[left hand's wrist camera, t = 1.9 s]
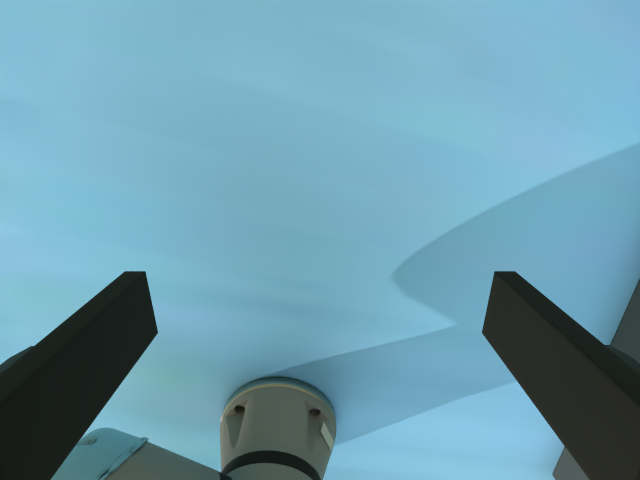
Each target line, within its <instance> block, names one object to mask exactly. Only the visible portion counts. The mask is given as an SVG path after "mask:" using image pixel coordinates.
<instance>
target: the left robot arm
mask: <svg viewBox="0 0 640 480" xmlns="http://www.w3.org/2000/svg"><path fill="white" fill-rule="evenodd" d="M157 333H158V331H157V326H156V321H155V316H154V311H153V306H152V301H151V296H150V292H149V287H148V282H147V277H146V272H145V271H125V272H124V273H123V274H121V275H120V276H119V277H118V278H116V279H115V280H114V281H113V282H112V283H110V284H109V285H108V286H107V287H106V288H104V289H103V290H102V291H101V292H99V293H98V294H97V295H96V296H95V297H93V298H92V299H91V300H90V301H89V302H87V303H86V304H85V305H84V306H82V307H81V308H80V309H79V310H78V311H76V312H75V313H74V314H73V315H72V316H70V317H69V318H68V319H67V320H65V321H64V322H63V323H62V324H61V325H59V326H58V327H57V328H56V329H55V330H53V331H52V332H51V333H50V334H48V335H47V336H46V337H45V338H44V339H42V340H41V341H40V342H39V343H38V344H36V345H35V346H31V347H29V348H27V349H25V350H23V351H21V352H20V353H18V354H16V355H14V356H12V357H10V358H9V359H7V360H6V361H5V362H4V363H2V364H1V365H0V480H323V477H324V474H325V471H326V468H327V464H328V461H329V458H330V455H331V452H332V449H333V445H334V442H335V436H336V418H335V412H334V410H333V407H332V405H331V403H330V402H329V401H328V399H327V398H326V397H325V396H324V395H323V394H322V393H321V392H320V391H318V390H317V389H315V388H314V387H312V386H310V385H308V384H306V383H303V382H301V381H298V380H293V379H288V378H265V379H260V380H256V381H253V382H250V383H248V384H246V385H244V386H242V387H241V388H239V389H238V390H237V391H236V392H234V394H233V395H232V396H231V397H230V398H229V400H228V402H227V403H226V406H225V409H224V412H223V415H222V418H221V425H220V443H221V473H220V472H218V471H217V470H214V469H212V468H209V467H207V466H205V465H202V464H200V463H197V462H195V461H192V460H190V459H188V458H185V457H183V456H180V455H178V454H176V453H173V452H171V451H168V450H166V449H164V448H161V447H159V446H156V445H154V444H152V443H149V442H147V441H148V438H146V437H143V438H138V437H136V436H133V435H130V434H127V433H124V432H121V431H118V430H116V429H112V428H100V429H97V430H94V431H92V432H90V433H88V434H87V435H86V436H84V437H83V438H82V439H81V437H82V436H83V435H84V433H85V432H86V431H87V429H88V428H89V427H90V425H91V424H92V422H93V421H94V420H95V418H96V417H97V416H98V414H99V413H100V411H101V410H102V409H103V407H104V406H105V405H106V403H107V402H108V401H109V399H110V398H111V396H112V395H113V394H114V392H115V391H116V390H117V388H118V387H119V385H120V384H121V383H122V381H123V380H124V379H125V377H126V376H127V374H128V373H129V372H130V370H131V369H132V368H133V366H134V365H135V364H136V362H137V361H138V359H139V358H140V357H141V355H142V354H143V353H144V351H145V350H146V348H147V347H148V346H149V344H150V343H151V342H152V340H153V339H154V338H155V336H156V335H157ZM482 333H483V335H484V336H485V338H486V339H487V340H488V342H489V343H490V344H491V346H492V347H493V348H494V350H495V351H496V353H497V354H498V355H499V357H500V358H501V359H502V361H503V362H504V364H505V365H506V366H507V368H508V369H509V370H510V372H511V373H512V374H513V376H514V377H515V379H516V380H517V381H518V383H519V384H520V385H521V387H522V388H523V390H524V391H525V392H526V394H527V395H528V396H529V398H530V399H531V401H532V402H533V403H534V405H535V406H536V407H537V409H538V410H539V411H540V413H541V414H542V416H543V417H544V418H545V420H546V421H547V422H548V424H549V425H550V427H551V428H552V429H553V431H554V432H555V433H556V435H557V436H558V437H559V439H560V440H561V442H562V443H563V444H564V446H565V447H566V448H567V450H568V451H569V453H570V454H571V455H572V457H573V458H574V459H575V461H576V462H577V464H578V465H579V466H580V468H581V469H582V470H583V472H584V473H585V474H586V476H587V477H588V479H589V480H640V363H638V362H637V361H636V360H635V359H633V358H632V357H630V356H629V355H627V354H625V353H623V352H621V351H619V350H618V349H616V348H614V347H612V346H610V345H604V344H602V343H601V342H600V341H599V340H598V339H596V338H595V337H594V336H593V335H592V334H590V333H589V332H588V331H587V330H585V329H584V328H583V327H582V326H581V325H579V324H578V323H577V322H576V321H575V320H573V319H572V318H571V317H570V316H568V315H567V314H566V313H565V312H564V311H562V310H561V309H560V308H559V307H558V306H556V305H555V304H554V303H553V302H551V301H550V300H549V299H548V298H547V297H545V296H544V295H543V294H542V293H541V292H539V291H538V290H537V289H536V288H534V287H533V286H532V285H531V284H530V283H528V282H527V281H526V280H525V279H524V278H522V277H521V276H520V275H519V274H517V273H516V272H515V271H495V272H494V277H493V282H492V287H491V292H490V296H489V301H488V306H487V311H486V316H485V321H484V326H483V331H482Z"/></svg>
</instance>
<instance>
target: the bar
mask: <svg viewBox="0 0 640 480" xmlns="http://www.w3.org/2000/svg"><path fill="white" fill-rule="evenodd" d="M610 346H612V347H614V348H616V349H618V350H619V351H621V352H623V353H625V354H627V355H629V356H630V357H632V358H633V359H635V360H636V361H637V362H638V363H640V280H639V283H638V285H637V287H636V289H635V292H634V294H633V296H632V298H631V300H630V303H629V305H628V307H627V309H626V312H625V314H624V316H623V318H622V321H621V323H620V325H619V327H618V329H617V332H616V334H615V336H614V338H613V341H612V343H611V345H610ZM553 476H554V478H555V480H589V479H588V477H587V476H586V474H585V473H584V472H583V470H582V469H581V468H580V466H579V465H578V464H577V462H576V461H575V459H574V458H573V457H572V455H571V454H570V453H569V451H568V450H567V448H566V447H565V448H564V450H563V452H562V455H561V457H560V459H559V461H558V464H557V466H556V468H555V470H554V472H553Z"/></svg>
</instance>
